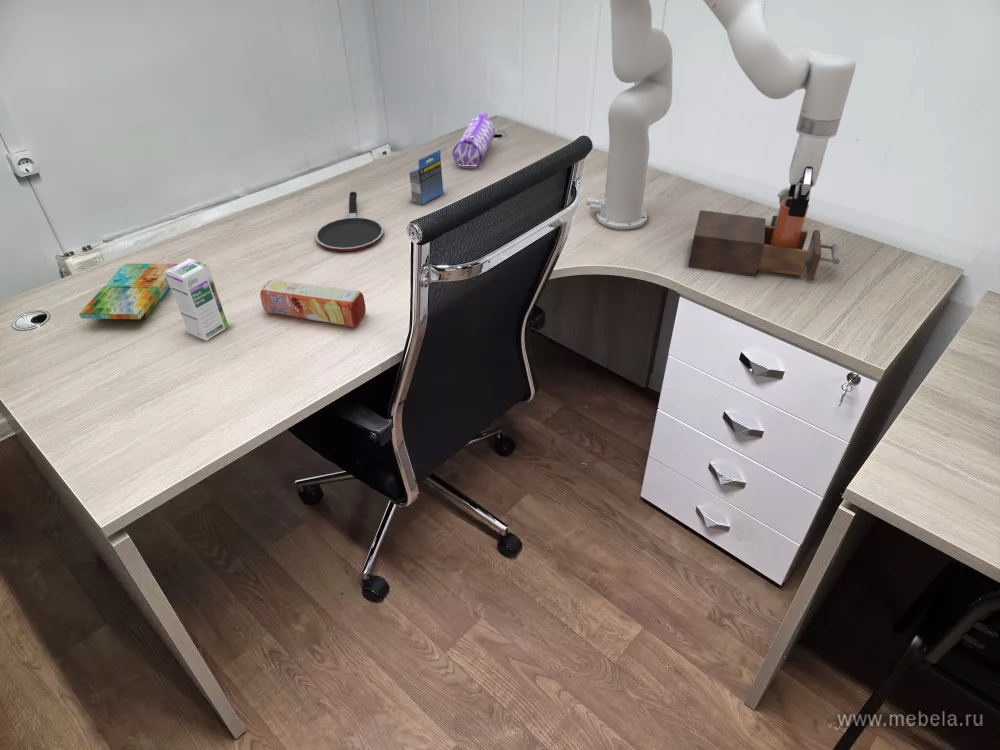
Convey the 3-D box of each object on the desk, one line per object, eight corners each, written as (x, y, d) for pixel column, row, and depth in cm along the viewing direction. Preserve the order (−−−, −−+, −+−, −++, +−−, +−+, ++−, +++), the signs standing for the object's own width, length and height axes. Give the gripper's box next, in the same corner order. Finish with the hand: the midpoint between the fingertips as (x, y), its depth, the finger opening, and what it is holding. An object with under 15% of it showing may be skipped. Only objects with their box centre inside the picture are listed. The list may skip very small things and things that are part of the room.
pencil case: (482, 172, 196) (481, 139, 190) (451, 170, 197) (449, 137, 191) (495, 144, 212) (495, 113, 206) (466, 142, 214) (465, 112, 208)
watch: (789, 223, 168) (801, 181, 161) (800, 238, 162) (813, 195, 155) (767, 223, 168) (778, 181, 162) (777, 239, 162) (789, 195, 155)
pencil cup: (766, 262, 150) (780, 207, 142) (766, 250, 154) (781, 196, 146) (792, 266, 148) (809, 211, 140) (792, 254, 153) (808, 200, 144)
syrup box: (206, 342, 133) (183, 278, 123) (186, 333, 135) (162, 269, 126) (229, 327, 136) (209, 264, 127) (209, 319, 139) (188, 256, 130)
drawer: (832, 258, 153) (840, 232, 149) (834, 283, 145) (843, 257, 141) (750, 246, 158) (756, 222, 154) (748, 270, 149) (754, 245, 145)
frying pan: (322, 204, 180) (319, 192, 178) (383, 200, 182) (382, 188, 180) (313, 256, 159) (311, 243, 156) (384, 250, 160) (382, 238, 158)
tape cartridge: (433, 190, 186) (429, 146, 178) (444, 194, 184) (441, 149, 176) (411, 202, 181) (407, 157, 173) (422, 205, 179) (418, 160, 171)
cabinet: (757, 250, 158) (765, 218, 153) (755, 276, 149) (764, 244, 144) (693, 241, 162) (699, 210, 157) (688, 266, 153) (694, 234, 148)
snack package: (262, 316, 139) (254, 288, 135) (279, 299, 144) (271, 271, 140) (355, 332, 134) (350, 304, 130) (369, 314, 139) (365, 286, 135)
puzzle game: (176, 260, 148) (135, 310, 133) (183, 278, 151) (143, 330, 136) (124, 259, 149) (76, 310, 133) (132, 278, 152) (86, 329, 136)
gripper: (797, 109, 140) (777, 188, 150) (797, 137, 127) (776, 221, 138) (836, 112, 138) (813, 191, 148) (841, 141, 125) (815, 226, 136)
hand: (795, 206), depth 143 cm, fingers open, 9 cm apart
